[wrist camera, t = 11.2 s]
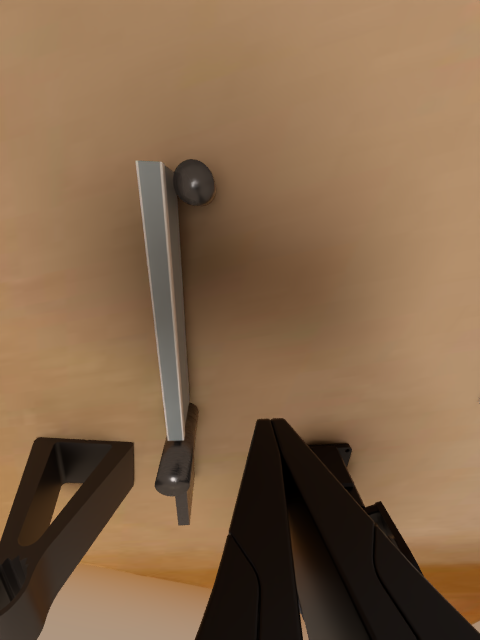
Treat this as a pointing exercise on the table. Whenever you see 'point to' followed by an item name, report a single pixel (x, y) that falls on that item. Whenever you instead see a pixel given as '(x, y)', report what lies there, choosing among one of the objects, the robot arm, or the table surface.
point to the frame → (177, 456)
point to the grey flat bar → (166, 289)
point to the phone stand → (56, 524)
